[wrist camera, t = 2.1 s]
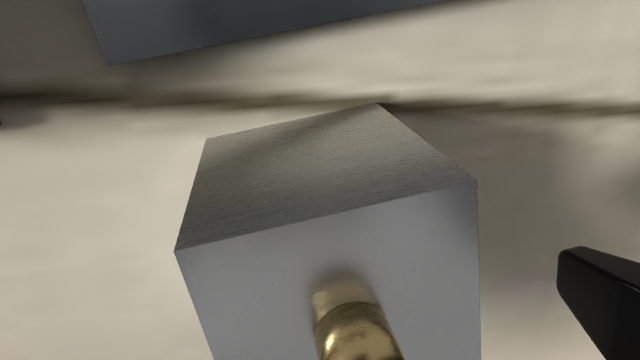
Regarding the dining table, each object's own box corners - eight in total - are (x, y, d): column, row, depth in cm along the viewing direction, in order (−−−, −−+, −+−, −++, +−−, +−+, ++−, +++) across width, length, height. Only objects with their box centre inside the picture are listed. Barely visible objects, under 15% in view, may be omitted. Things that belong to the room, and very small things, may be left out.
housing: (393, 244, 15) (514, 445, 8) (248, 279, 14) (250, 520, 8) (375, 102, 12) (519, 213, 6) (206, 138, 12) (159, 300, 6)
